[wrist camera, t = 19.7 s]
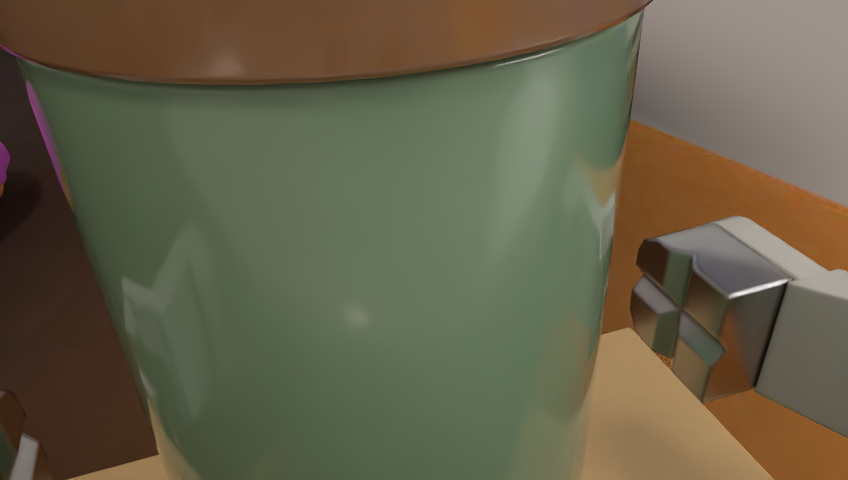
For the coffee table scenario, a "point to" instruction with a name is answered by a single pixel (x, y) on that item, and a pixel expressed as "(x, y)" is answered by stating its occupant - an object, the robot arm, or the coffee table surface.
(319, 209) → the jar
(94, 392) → the coffee table surface
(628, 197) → the coffee table surface
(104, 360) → the coffee table surface
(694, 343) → the robot arm
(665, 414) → the mat
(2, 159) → the donut
